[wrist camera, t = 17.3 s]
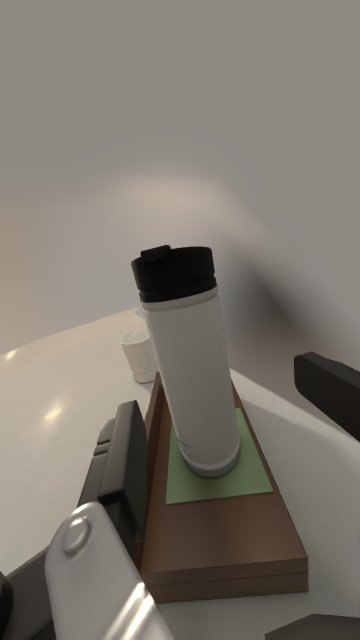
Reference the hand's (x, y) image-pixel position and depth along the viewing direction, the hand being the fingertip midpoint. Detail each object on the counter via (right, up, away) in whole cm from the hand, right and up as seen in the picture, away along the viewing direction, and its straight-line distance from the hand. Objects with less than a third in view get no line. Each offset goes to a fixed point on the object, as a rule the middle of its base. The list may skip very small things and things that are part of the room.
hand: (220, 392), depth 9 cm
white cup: (-9, -10, +35) cm, 37 cm away
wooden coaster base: (+1, -13, +14) cm, 19 cm away
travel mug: (+1, -10, +10) cm, 15 cm away
